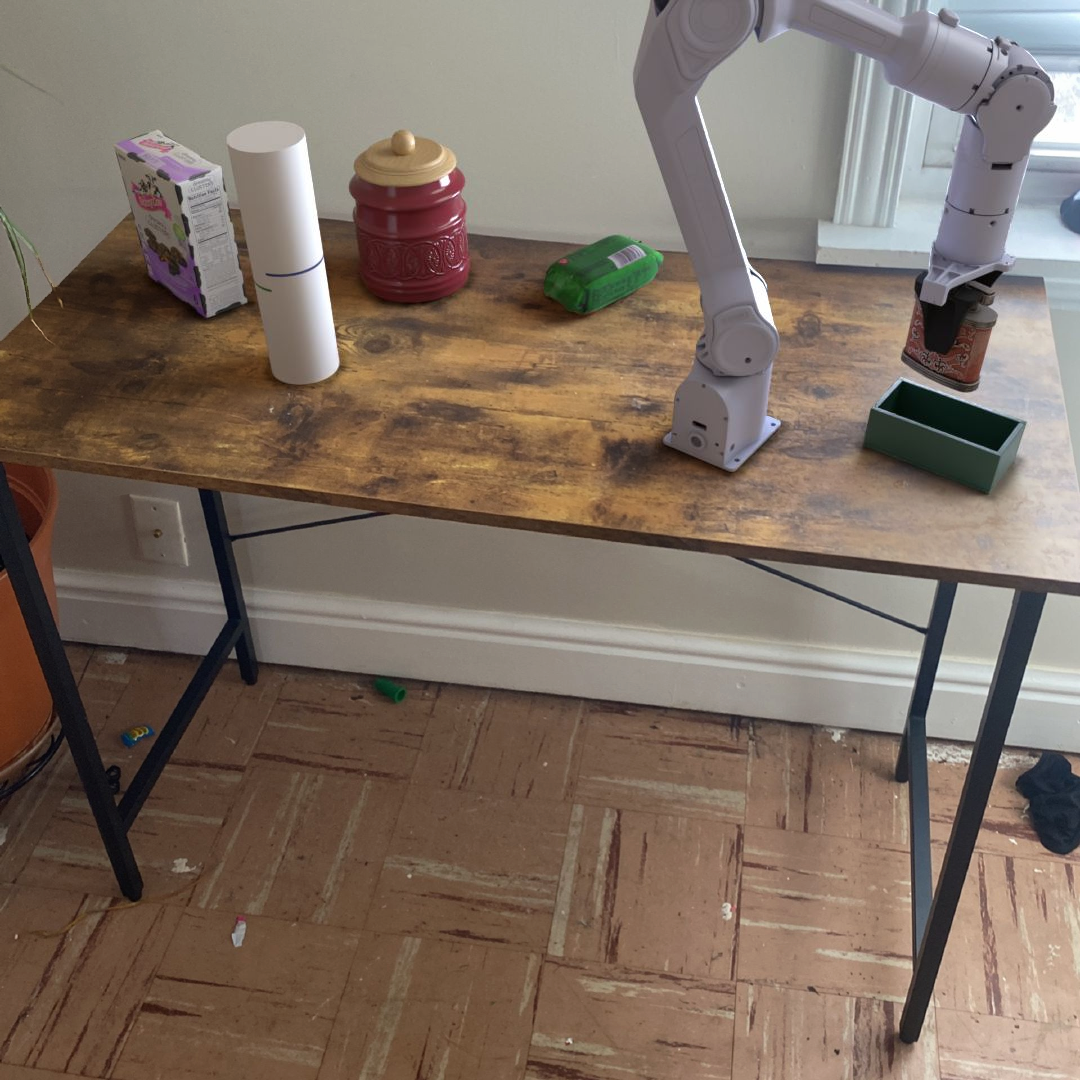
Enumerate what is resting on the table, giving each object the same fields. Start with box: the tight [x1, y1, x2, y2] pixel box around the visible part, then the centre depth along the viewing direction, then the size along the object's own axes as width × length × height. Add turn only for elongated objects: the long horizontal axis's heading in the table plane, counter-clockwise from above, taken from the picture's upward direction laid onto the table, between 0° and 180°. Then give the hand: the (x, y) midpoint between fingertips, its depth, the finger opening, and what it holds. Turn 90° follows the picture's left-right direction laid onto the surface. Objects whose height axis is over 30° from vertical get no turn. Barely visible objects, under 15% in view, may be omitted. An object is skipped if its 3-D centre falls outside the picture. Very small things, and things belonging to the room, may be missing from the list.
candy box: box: [113, 129, 248, 319], centre depth 132 cm, size 14×6×16 cm, turn 42°
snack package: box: [542, 234, 665, 316], centre depth 134 cm, size 7×16×5 cm, turn 131°
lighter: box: [900, 280, 999, 394], centre depth 107 cm, size 8×3×10 cm, turn 39°
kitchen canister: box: [348, 129, 471, 304], centre depth 133 cm, size 13×13×18 cm
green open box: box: [862, 376, 1028, 495], centre depth 111 cm, size 6×12×4 cm, turn 53°
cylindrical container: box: [226, 120, 340, 386], centre depth 117 cm, size 7×7×25 cm
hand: (945, 340), depth 108 cm, fingers closed on lighter, 4 cm apart
